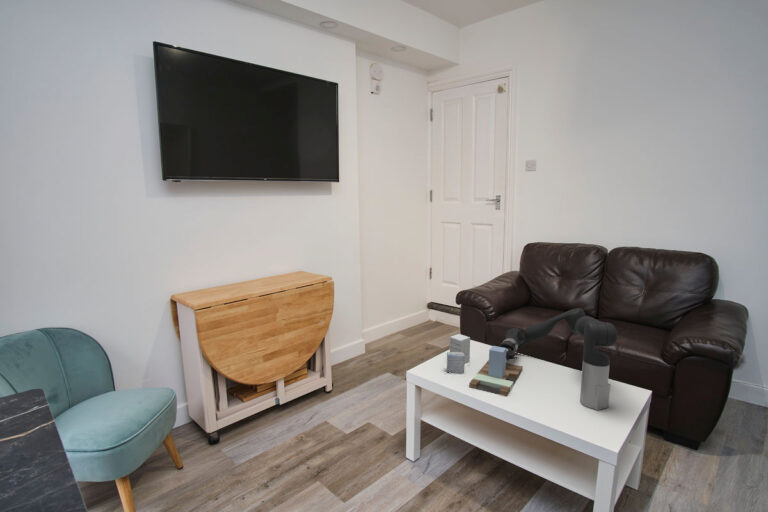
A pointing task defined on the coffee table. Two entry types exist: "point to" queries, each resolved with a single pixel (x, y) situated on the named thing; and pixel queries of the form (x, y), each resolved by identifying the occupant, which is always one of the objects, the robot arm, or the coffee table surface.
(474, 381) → the deck
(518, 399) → the coffee table surface
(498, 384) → the pad
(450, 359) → the medicine box
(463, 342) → the supplement box
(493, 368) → the block
